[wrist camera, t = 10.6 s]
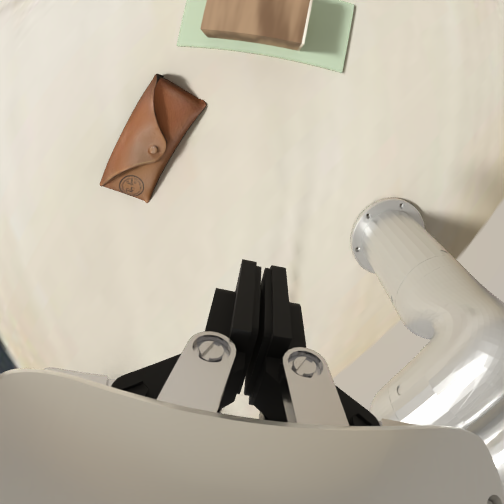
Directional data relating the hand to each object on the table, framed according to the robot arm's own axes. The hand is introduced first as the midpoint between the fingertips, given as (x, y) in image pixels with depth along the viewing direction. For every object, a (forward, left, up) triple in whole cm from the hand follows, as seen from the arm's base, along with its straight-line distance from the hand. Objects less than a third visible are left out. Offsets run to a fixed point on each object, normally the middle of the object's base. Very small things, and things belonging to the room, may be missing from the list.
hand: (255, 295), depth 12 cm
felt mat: (+12, -15, -32) cm, 37 cm away
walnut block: (+8, -18, -29) cm, 35 cm away
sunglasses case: (+13, +8, -33) cm, 36 cm away
